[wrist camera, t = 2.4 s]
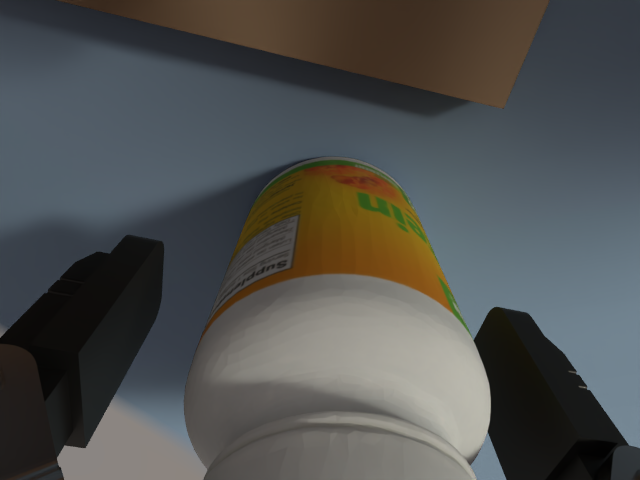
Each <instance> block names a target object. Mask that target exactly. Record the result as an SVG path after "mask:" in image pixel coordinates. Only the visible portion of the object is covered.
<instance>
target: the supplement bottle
mask: <svg viewBox="0 0 640 480" xmlns="http://www.w3.org/2000/svg"><path fill="white" fill-rule="evenodd" d="M490 413H491V397H490V387H489V382H488V378H487V375H486V372H485V369H484V366H483V363H482V360H481V358H480V356H479V352H478V350H477V348H476V346H475V343H474V341H473V339H472V336H471V334H470V332H469V330H468V327H467V325H466V323H465V321H464V319H463V317H462V315H461V312H460V310H459V308H458V306H457V303H456V301H455V299H454V297H453V294H452V292H451V290H450V288H449V285H448V283H447V281H446V279H445V276H444V274H443V272H442V270H441V268H440V265H439V263H438V261H437V259H436V256H435V254H434V252H433V249H432V247H431V245H430V242H429V240H428V238H427V236H426V233H425V231H424V229H423V227H422V224H421V222H420V220H419V217H418V215H417V213H416V210H415V208H414V207H413V205H412V203H411V201H410V199H409V197H408V196H407V194H406V193H405V191H404V190H403V189H402V188H401V186H400V185H399V184H398V183H397V182H396V181H395V180H394V179H393V178H392V177H391V176H389V175H388V174H387V173H385V172H384V171H382V170H380V169H379V168H377V167H375V166H373V165H371V164H368V163H366V162H363V161H360V160H356V159H352V158H346V157H320V158H315V159H311V160H307V161H304V162H301V163H298V164H296V165H294V166H292V167H290V168H288V169H286V170H285V171H283V172H282V173H280V174H279V175H277V176H276V177H275V178H274V179H272V180H271V181H270V182H269V183H268V184H267V185H266V186H265V187H264V189H263V190H262V191H261V193H260V194H259V196H258V197H257V199H256V200H255V202H254V204H253V206H252V208H251V210H250V212H249V215H248V217H247V220H246V222H245V225H244V227H243V230H242V232H241V235H240V238H239V240H238V243H237V245H236V248H235V250H234V253H233V256H232V258H231V261H230V263H229V266H228V269H227V271H226V274H225V277H224V279H223V282H222V285H221V287H220V290H219V292H218V295H217V298H216V300H215V303H214V306H213V308H212V311H211V314H210V316H209V318H208V321H207V324H206V326H205V329H204V331H203V333H202V336H201V339H200V341H199V344H198V347H197V349H196V352H195V355H194V358H193V361H192V364H191V368H190V371H189V374H188V378H187V382H186V386H185V396H184V415H185V422H186V427H187V432H188V435H189V438H190V440H191V443H192V445H193V447H194V450H195V452H196V453H197V455H198V457H199V458H200V460H201V461H202V463H203V464H204V466H205V467H206V468H207V473H206V475H205V477H204V480H477V479H476V476H475V474H474V472H473V470H472V468H471V467H470V465H471V464H472V462H473V461H474V460H475V458H476V457H477V455H478V453H479V451H480V449H481V447H482V445H483V442H484V440H485V437H486V434H487V431H488V427H489V423H490Z"/></svg>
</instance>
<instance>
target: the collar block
mask: <svg viewBox="0 0 640 480" xmlns="http://www.w3.org/2000/svg"><path fill="white" fill-rule="evenodd" d="M57 1H61V2H65V3H69V4H74V5H78V6H82V7H86V8H90V9H94V10H98V11H102V12H106V13H111V14H115V15H119V16H123V17H127V18H131V19H135V20H139V21H144V22H148V23H152V24H156V25H160V26H164V27H168V28H172V29H176V30H181V31H185V32H189V33H193V34H197V35H201V36H205V37H209V38H214V39H218V40H222V41H226V42H230V43H234V44H238V45H242V46H246V47H251V48H255V49H259V50H263V51H267V52H271V53H275V54H279V55H284V56H288V57H292V58H296V59H300V60H304V61H308V62H312V63H316V64H321V65H325V66H329V67H333V68H337V69H341V70H345V71H349V72H354V73H358V74H362V75H366V76H370V77H374V78H378V79H382V80H386V81H391V82H395V83H399V84H403V85H407V86H411V87H415V88H419V89H424V90H428V91H432V92H436V93H440V94H444V95H448V96H452V97H456V98H461V99H465V100H469V101H473V102H477V103H481V104H485V105H489V106H493V107H498V108H502V109H504V107H505V104H506V102H507V100H508V97H509V95H510V93H511V90H512V88H513V86H514V83H515V81H516V79H517V76H518V74H519V72H520V69H521V67H522V65H523V62H524V60H525V57H526V55H527V53H528V50H529V48H530V46H531V43H532V41H533V39H534V36H535V34H536V32H537V29H538V27H539V25H540V22H541V20H542V18H543V15H544V13H545V11H546V8H547V6H548V3H549V1H550V0H57Z"/></svg>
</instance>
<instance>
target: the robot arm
mask: <svg viewBox="0 0 640 480" xmlns="http://www.w3.org/2000/svg"><path fill="white" fill-rule="evenodd" d="M163 260H164V245H163V242H162V241H158V240H153V239H148V238H143V237H138V236H133V235H127V236H125V237H124V238H123V239H122V240H121V242H120V243H119V244H118V245H117V246H116V247H115V248H114V249H113V251H112V252H111V253H110V254H108V253H103V252H96V253H94V254H92V255H89V256H87V257H85V258H83V259H81V260H79V261H77V262H75V263H74V264H73V265H72V266H71V267H70V268H69V269H68V270H67V271H66V272H65V273H64V274H63V275H62V276H61V278H60V280H57V281H56V282H55V283H54V284H53V285H52V286H51V287H50V288H49V289H48V292H47V293H44V294H43V295H42V296H41V297H40V298H39V299H38V300H37V301H36V302H35V303H34V304H33V305H32V306H31V307H30V308H29V309H28V310H27V311H26V312H25V313H24V314H23V315H22V316H21V317H20V318H19V319H18V320H17V321H16V322H15V323H14V324H13V325H12V326H11V327H10V328H9V329H8V330H7V331H6V332H5V333H4V335H3V336H2V337H1V338H0V480H64V477H63V474H62V470H61V468H60V467H59V465H58V462H57V457H58V455H59V453H60V452H61V450H62V449H63V447H64V445H66V446H73V447H80V448H86V446H87V444H88V442H89V441H90V439H91V437H92V435H93V433H94V431H95V430H96V428H97V426H98V424H99V422H100V421H101V419H102V417H103V415H104V413H105V411H106V410H107V408H108V406H109V404H110V402H111V400H112V399H113V397H114V395H115V393H116V391H117V389H118V388H119V386H120V384H121V382H122V380H123V378H124V377H125V375H126V373H127V371H128V369H129V367H130V366H131V364H132V362H133V360H134V358H135V357H136V355H137V353H138V351H139V349H140V347H141V346H142V344H143V342H144V340H145V338H146V336H147V335H148V333H149V331H150V329H151V327H152V325H153V324H154V322H155V319H156V317H157V314H158V311H159V308H160V303H161V297H162V279H163ZM474 343H475V346H476V348H477V350H478V352H479V356H480V358H481V360H482V363H483V366H484V369H485V372H486V375H487V378H488V382H489V387H490V397H491V413H490V423H489V427H488V434H489V436H490V439H491V441H492V444H493V446H494V449H495V451H496V454H497V457H498V459H499V462H500V464H501V467H502V469H503V472H504V474H505V477H506V479H507V480H640V448H638V447H634V446H629V445H628V443H627V442H626V440H625V439H624V438H623V436H622V435H621V433H620V432H619V431H618V429H617V428H616V426H615V425H614V424H613V422H612V421H611V419H610V418H609V416H608V415H607V414H606V412H605V411H604V409H603V408H602V407H601V405H600V404H599V402H598V401H597V400H596V398H595V397H594V395H593V394H592V392H591V391H590V390H587V385H586V384H585V383H584V381H583V380H582V378H581V377H580V376H579V375H576V372H577V371H576V370H575V368H574V367H573V366H572V364H571V363H570V361H569V360H568V359H567V357H566V356H565V354H564V353H563V352H562V351H561V350H559V349H558V348H557V347H556V346H555V345H554V344H553V343H552V342H551V341H549V340H548V339H547V338H546V337H545V336H544V335H543V333H542V332H541V330H540V329H539V327H538V326H537V324H536V323H535V322H534V320H533V319H532V317H531V316H530V315H529V314H528V313H526V312H521V311H516V310H511V309H505V308H500V307H494V308H493V309H491V310H490V311H489V313H488V315H487V316H486V318H485V320H484V322H483V324H482V326H481V328H480V330H479V331H478V333H477V335H476V337H475V339H474Z"/></svg>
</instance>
